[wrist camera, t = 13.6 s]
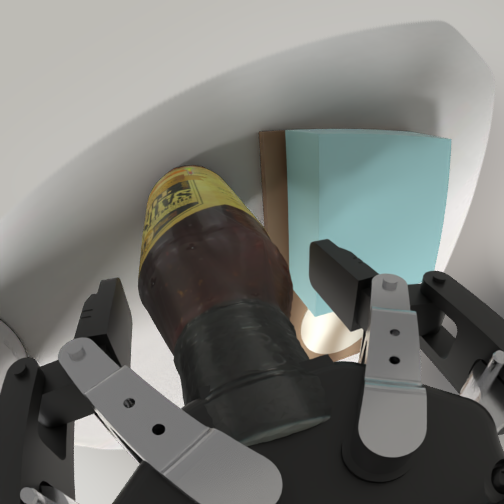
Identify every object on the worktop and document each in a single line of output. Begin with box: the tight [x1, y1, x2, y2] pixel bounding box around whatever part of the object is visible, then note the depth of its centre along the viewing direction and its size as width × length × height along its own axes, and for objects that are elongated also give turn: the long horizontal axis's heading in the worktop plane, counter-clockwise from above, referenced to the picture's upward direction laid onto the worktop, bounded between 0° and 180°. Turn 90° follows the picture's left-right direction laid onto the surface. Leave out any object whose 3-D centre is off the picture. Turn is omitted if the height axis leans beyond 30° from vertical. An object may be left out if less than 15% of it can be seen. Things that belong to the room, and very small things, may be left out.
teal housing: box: [285, 129, 451, 317], centre depth 23 cm, size 13×13×5 cm
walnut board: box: [259, 130, 363, 362], centre depth 29 cm, size 16×26×1 cm, turn 4°
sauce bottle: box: [138, 165, 332, 446], centre depth 14 cm, size 7×6×20 cm
